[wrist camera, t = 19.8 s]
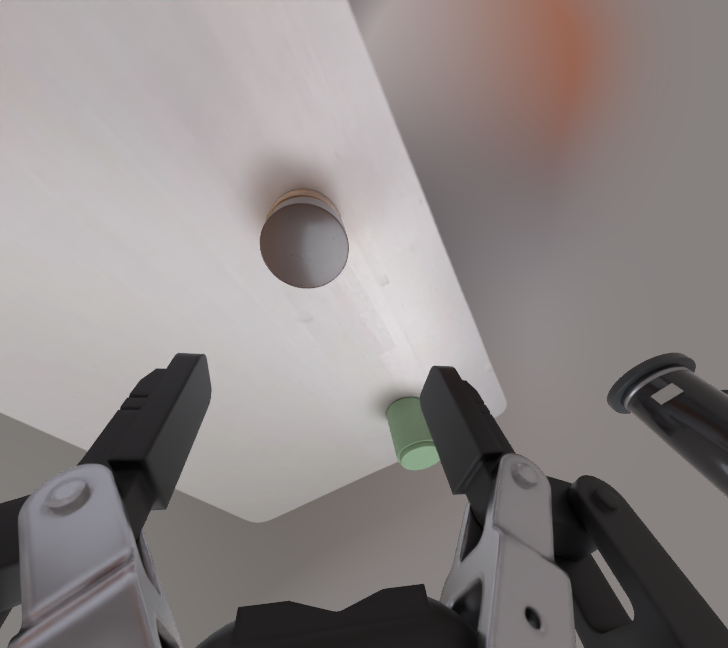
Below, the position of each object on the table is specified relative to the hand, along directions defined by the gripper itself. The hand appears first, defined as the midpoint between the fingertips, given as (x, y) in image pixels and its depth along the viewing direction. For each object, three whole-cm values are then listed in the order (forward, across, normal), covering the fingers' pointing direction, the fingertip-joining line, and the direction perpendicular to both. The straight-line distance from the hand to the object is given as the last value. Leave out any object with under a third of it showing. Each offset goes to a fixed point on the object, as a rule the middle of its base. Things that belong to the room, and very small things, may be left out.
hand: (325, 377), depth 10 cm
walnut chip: (+14, +1, -1) cm, 14 cm away
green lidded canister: (+17, -14, +22) cm, 31 cm away
